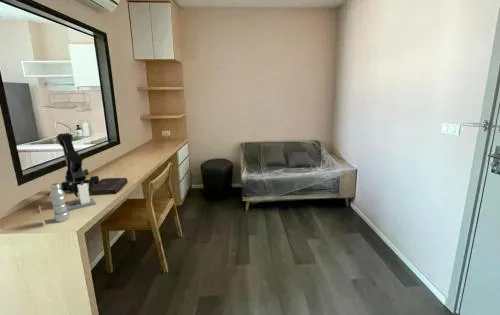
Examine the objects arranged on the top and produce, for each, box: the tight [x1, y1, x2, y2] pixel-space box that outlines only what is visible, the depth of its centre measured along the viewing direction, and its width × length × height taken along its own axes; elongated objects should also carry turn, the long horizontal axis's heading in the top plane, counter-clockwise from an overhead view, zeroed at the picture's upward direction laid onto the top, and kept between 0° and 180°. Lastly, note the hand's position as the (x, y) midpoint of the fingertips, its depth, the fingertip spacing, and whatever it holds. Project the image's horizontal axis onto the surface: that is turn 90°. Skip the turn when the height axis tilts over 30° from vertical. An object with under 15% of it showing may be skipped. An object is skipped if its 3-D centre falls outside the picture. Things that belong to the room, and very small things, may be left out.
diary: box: [88, 177, 129, 196], centre depth 185 cm, size 19×25×5 cm
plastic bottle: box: [49, 182, 70, 223], centre depth 138 cm, size 6×7×20 cm
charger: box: [77, 182, 91, 205], centre depth 157 cm, size 4×4×14 cm
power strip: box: [66, 198, 97, 212], centre depth 156 cm, size 16×8×3 cm, turn 131°
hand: (84, 195), depth 156 cm, fingers open, 6 cm apart
